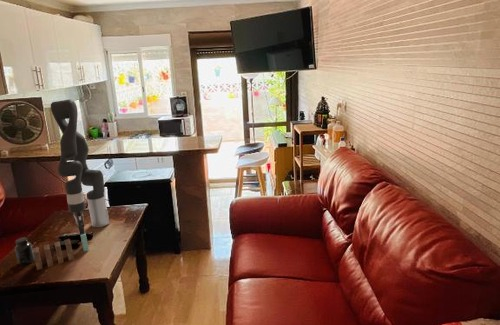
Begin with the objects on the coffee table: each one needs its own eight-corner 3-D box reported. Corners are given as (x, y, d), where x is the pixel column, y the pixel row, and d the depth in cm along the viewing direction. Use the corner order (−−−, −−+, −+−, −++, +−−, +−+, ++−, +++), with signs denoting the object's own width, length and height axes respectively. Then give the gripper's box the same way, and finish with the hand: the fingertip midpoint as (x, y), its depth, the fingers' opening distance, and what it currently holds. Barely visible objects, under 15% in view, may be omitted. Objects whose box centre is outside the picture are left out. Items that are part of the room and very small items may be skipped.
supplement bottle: (23, 258, 179) (17, 236, 175) (37, 257, 179) (32, 235, 176) (15, 266, 172) (9, 243, 169) (30, 265, 173) (25, 242, 169)
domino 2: (52, 260, 176) (48, 244, 173) (53, 265, 172) (49, 248, 169) (47, 262, 175) (43, 245, 172) (48, 267, 170) (44, 250, 168)
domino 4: (72, 255, 180) (69, 238, 178) (74, 259, 176) (70, 242, 173) (67, 256, 179) (64, 240, 176) (69, 260, 175) (65, 244, 172)
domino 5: (87, 246, 188) (84, 230, 185) (88, 250, 184) (85, 234, 181) (82, 247, 187) (79, 231, 184) (84, 251, 183) (81, 235, 180)
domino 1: (41, 263, 173) (38, 247, 171) (42, 268, 169) (38, 251, 167) (36, 265, 172) (32, 248, 170) (37, 270, 168) (33, 253, 166)
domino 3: (62, 257, 178) (59, 241, 175) (63, 262, 174) (60, 245, 171) (57, 259, 177) (54, 242, 174) (58, 263, 173) (55, 247, 170)
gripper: (86, 203, 174) (91, 234, 178) (82, 195, 185) (87, 224, 190) (69, 207, 170) (74, 238, 174) (66, 198, 182) (71, 227, 186)
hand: (81, 231), depth 182 cm, fingers open, 8 cm apart
